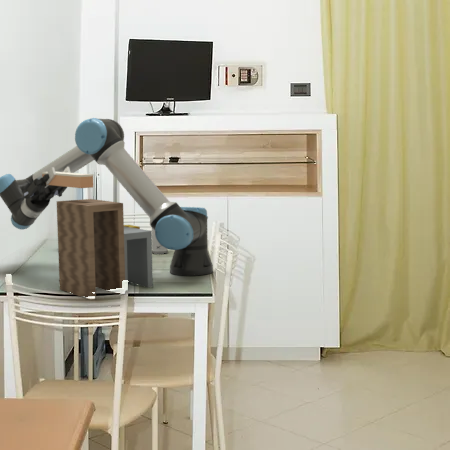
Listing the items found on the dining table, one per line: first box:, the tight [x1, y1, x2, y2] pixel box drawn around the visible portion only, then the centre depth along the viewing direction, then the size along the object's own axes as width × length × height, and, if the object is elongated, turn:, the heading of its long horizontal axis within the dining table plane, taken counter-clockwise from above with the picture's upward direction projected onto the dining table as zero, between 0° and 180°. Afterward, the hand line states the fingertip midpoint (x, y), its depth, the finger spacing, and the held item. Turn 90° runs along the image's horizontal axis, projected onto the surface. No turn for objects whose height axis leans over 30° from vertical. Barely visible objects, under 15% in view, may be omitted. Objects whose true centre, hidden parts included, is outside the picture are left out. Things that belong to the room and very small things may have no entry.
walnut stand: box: [56, 198, 125, 297], centre depth 234 cm, size 20×12×28 cm, turn 39°
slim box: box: [42, 172, 94, 189], centre depth 240 cm, size 26×5×4 cm, turn 39°
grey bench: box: [124, 226, 154, 288], centre depth 245 cm, size 18×11×18 cm, turn 39°
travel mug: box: [151, 227, 169, 255], centre depth 309 cm, size 6×7×20 cm
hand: (61, 170), depth 243 cm, fingers closed on slim box, 5 cm apart
